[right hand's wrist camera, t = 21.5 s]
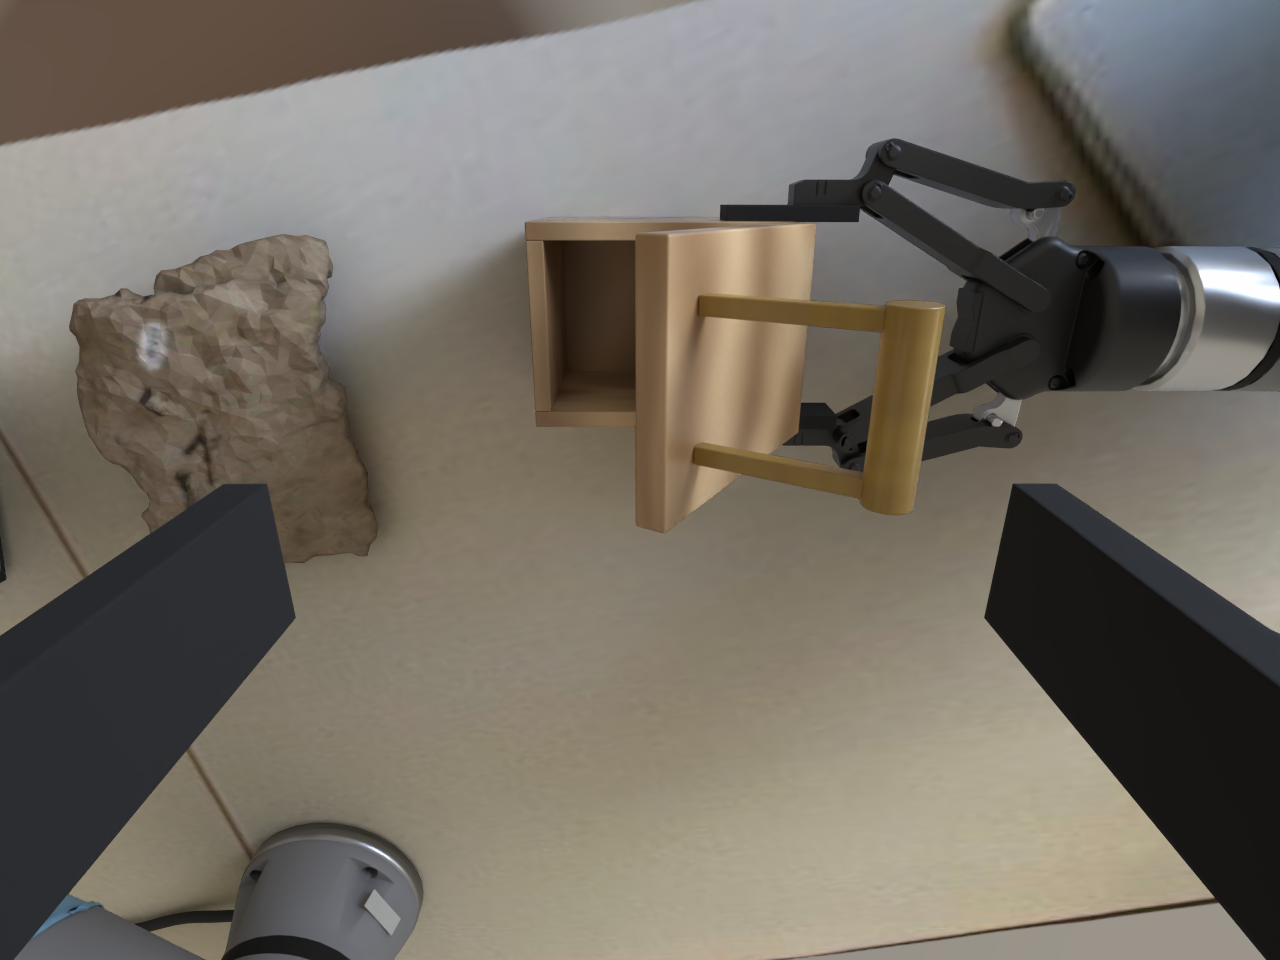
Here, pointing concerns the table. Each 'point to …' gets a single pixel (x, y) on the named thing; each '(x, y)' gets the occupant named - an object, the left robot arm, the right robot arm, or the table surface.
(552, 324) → the chest
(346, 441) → the stone
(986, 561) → the table surface
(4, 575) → the graphics card box
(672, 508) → the lid
